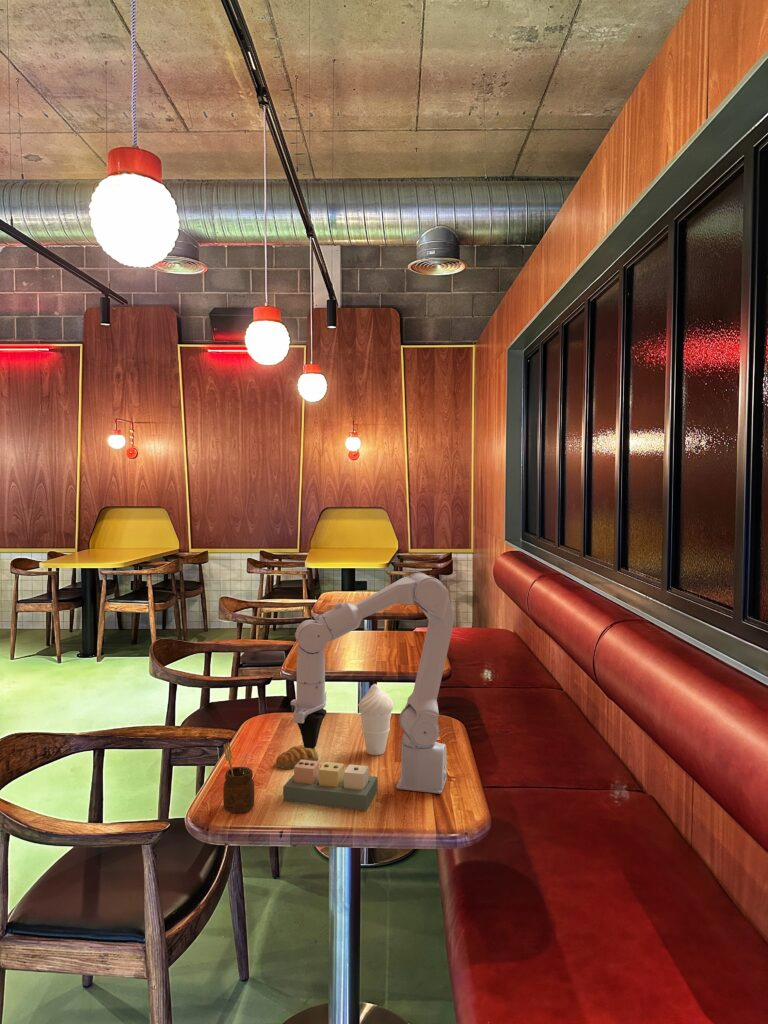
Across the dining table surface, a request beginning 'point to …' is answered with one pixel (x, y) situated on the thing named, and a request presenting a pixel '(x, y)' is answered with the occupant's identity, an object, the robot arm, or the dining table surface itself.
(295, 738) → the dining table surface
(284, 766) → the pastry
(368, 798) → the toy block sorting board
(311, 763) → the toy block
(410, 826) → the dining table surface
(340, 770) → the toy block
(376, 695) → the soft serve ice cream cone
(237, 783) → the utensil holder
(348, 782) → the toy block
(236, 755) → the dining table surface
